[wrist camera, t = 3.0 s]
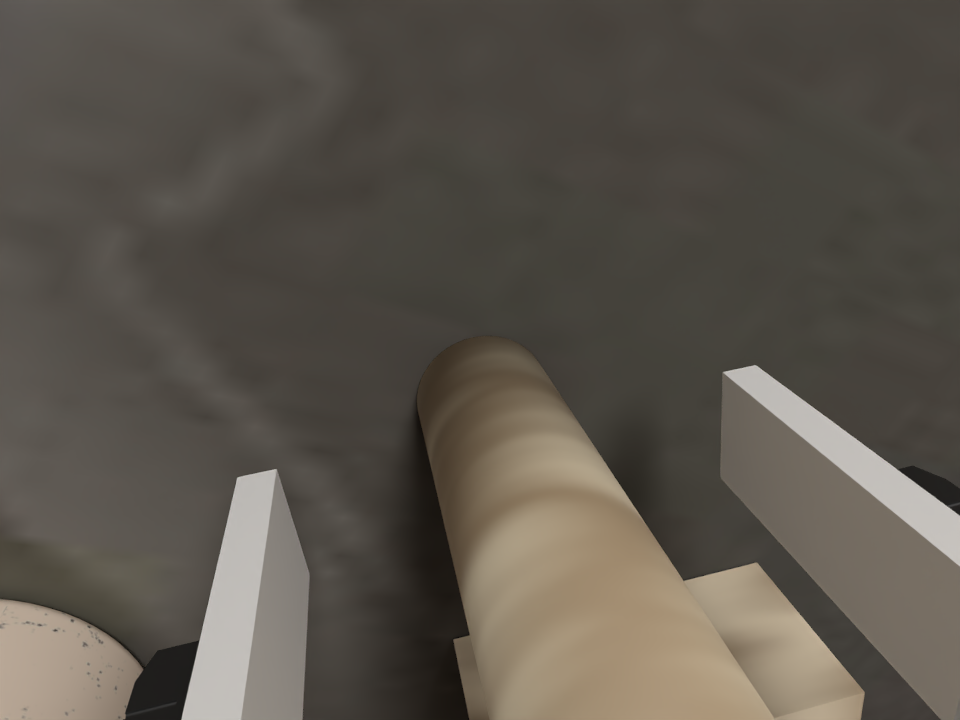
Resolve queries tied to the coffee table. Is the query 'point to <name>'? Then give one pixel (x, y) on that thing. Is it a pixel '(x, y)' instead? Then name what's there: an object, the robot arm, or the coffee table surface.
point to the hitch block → (746, 650)
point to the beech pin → (561, 558)
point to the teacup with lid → (60, 667)
